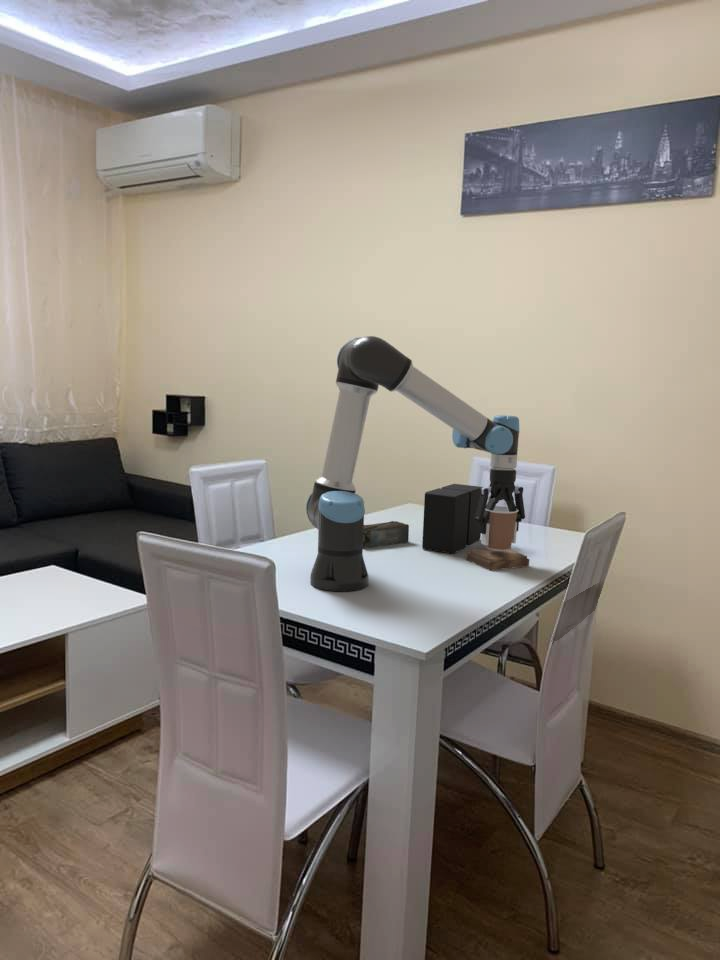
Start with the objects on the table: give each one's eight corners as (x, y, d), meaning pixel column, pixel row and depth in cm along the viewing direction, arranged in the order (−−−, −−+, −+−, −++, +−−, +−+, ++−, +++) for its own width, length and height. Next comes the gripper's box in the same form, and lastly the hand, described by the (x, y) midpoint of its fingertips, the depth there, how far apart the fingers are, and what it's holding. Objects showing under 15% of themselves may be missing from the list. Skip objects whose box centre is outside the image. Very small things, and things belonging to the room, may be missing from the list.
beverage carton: (348, 543, 227) (348, 523, 226) (395, 538, 237) (396, 519, 236) (361, 549, 220) (362, 528, 219) (409, 543, 230) (410, 523, 229)
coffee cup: (522, 549, 207) (525, 509, 206) (503, 554, 200) (506, 513, 198) (492, 542, 214) (495, 504, 213) (473, 547, 207) (476, 507, 205)
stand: (489, 570, 200) (489, 560, 199) (466, 559, 210) (466, 550, 210) (528, 566, 205) (529, 556, 205) (504, 556, 216) (505, 547, 216)
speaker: (451, 535, 243) (453, 483, 240) (480, 540, 238) (483, 486, 235) (421, 549, 222) (423, 492, 219) (452, 555, 216) (455, 496, 214)
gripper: (479, 470, 196) (474, 548, 199) (541, 469, 205) (536, 543, 208) (464, 467, 203) (460, 542, 206) (525, 466, 212) (520, 538, 215)
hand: (498, 543), depth 207 cm, fingers closed on coffee cup, 9 cm apart
